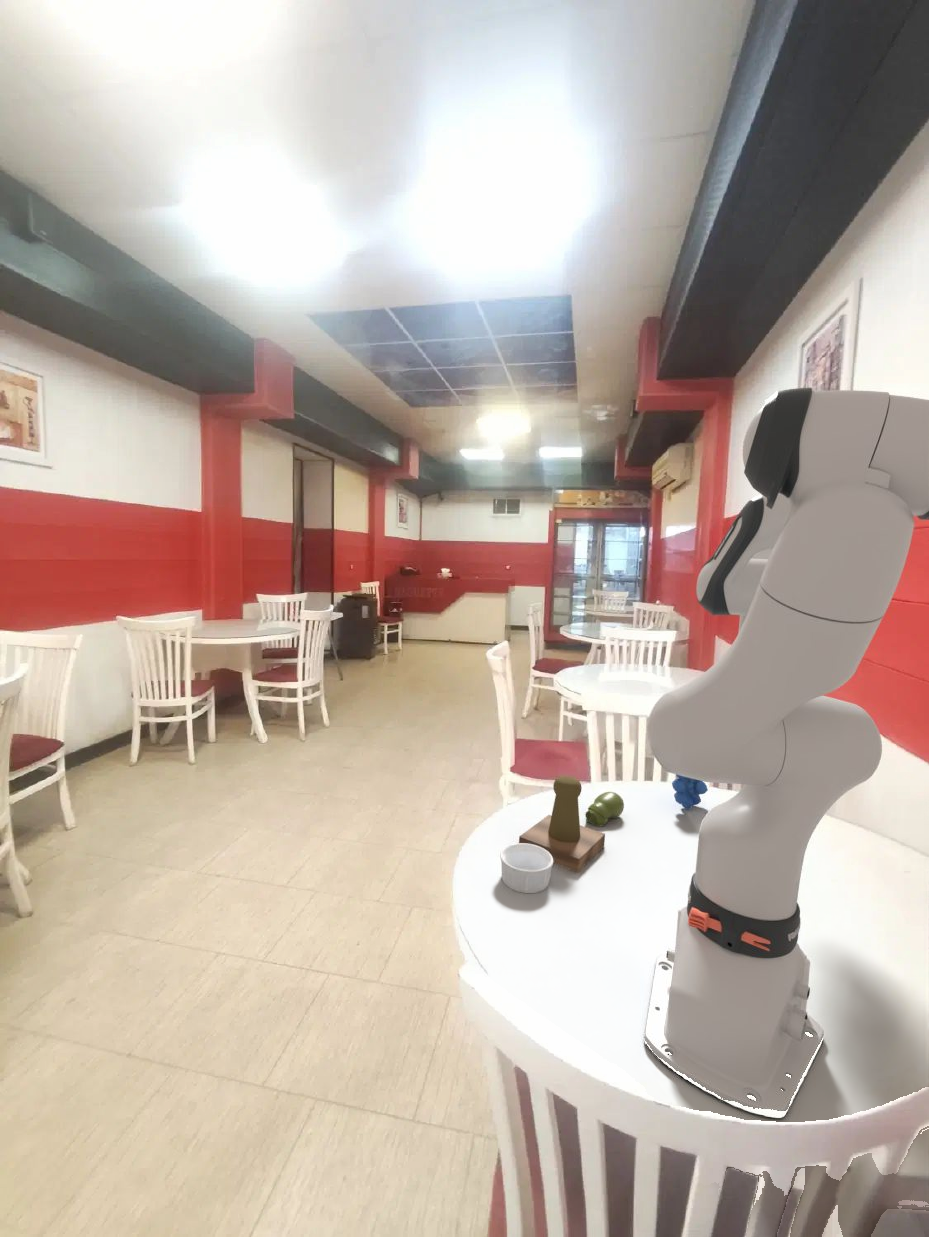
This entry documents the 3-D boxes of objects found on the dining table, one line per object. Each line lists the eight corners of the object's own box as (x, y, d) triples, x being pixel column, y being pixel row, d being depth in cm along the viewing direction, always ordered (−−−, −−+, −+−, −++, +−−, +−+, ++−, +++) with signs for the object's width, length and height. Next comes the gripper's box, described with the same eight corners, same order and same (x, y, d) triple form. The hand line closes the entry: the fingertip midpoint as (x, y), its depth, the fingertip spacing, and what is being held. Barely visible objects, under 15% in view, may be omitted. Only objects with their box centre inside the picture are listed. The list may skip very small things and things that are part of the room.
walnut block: (578, 872, 94) (579, 859, 94) (518, 849, 101) (519, 836, 101) (604, 846, 104) (605, 833, 104) (548, 826, 111) (548, 814, 111)
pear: (628, 793, 116) (600, 812, 110) (629, 815, 117) (601, 836, 111) (607, 784, 120) (578, 802, 114) (607, 806, 121) (579, 825, 115)
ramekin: (560, 893, 88) (562, 867, 88) (509, 899, 86) (511, 873, 85) (538, 864, 97) (540, 840, 96) (491, 869, 94) (493, 845, 94)
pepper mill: (579, 828, 105) (583, 774, 104) (581, 844, 99) (585, 786, 98) (548, 825, 106) (551, 770, 105) (548, 840, 100) (551, 782, 99)
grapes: (690, 822, 116) (695, 768, 115) (662, 810, 121) (667, 758, 120) (719, 810, 123) (723, 759, 122) (691, 799, 128) (695, 750, 127)
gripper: (778, 638, 88) (770, 721, 90) (791, 630, 105) (783, 700, 106) (736, 634, 92) (728, 713, 93) (754, 627, 109) (748, 694, 110)
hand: (758, 706), depth 100 cm, fingers open, 8 cm apart
